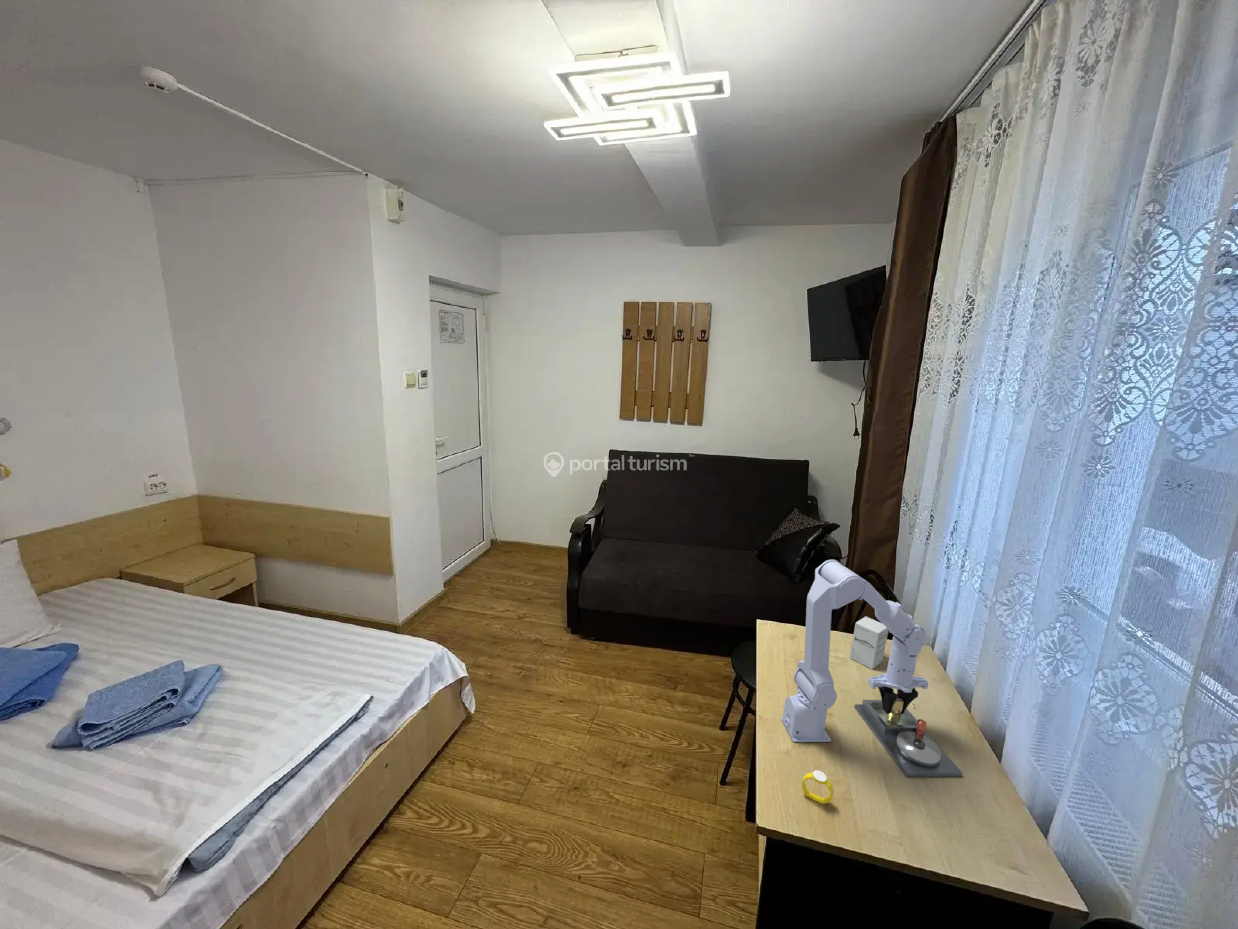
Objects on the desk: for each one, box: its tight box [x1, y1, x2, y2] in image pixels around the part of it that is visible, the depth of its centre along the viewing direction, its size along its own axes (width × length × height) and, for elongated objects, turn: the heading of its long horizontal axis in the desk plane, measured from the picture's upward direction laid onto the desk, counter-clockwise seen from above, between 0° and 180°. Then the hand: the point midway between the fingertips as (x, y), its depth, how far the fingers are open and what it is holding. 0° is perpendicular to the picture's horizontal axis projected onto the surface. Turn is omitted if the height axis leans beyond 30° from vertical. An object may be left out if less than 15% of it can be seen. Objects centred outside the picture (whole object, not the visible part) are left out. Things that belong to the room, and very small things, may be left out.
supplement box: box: [849, 616, 889, 670], centre depth 148 cm, size 7×7×13 cm
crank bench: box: [854, 699, 963, 778], centre depth 118 cm, size 13×22×4 cm, turn 3°
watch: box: [801, 769, 834, 805], centre depth 100 cm, size 6×3×6 cm, turn 60°
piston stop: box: [886, 692, 904, 723], centre depth 121 cm, size 3×3×7 cm
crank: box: [896, 718, 941, 767], centre depth 112 cm, size 9×9×6 cm
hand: (892, 711), depth 122 cm, fingers closed on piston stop, 3 cm apart
